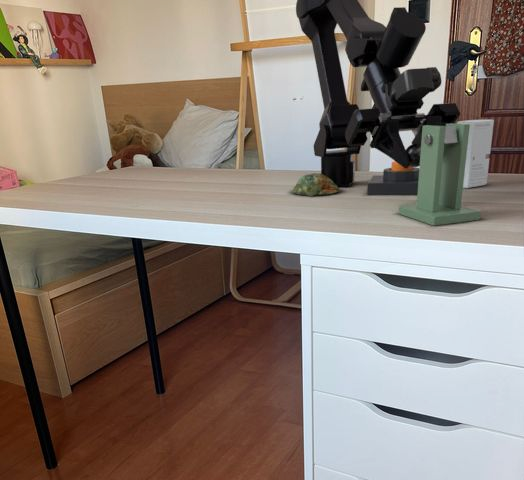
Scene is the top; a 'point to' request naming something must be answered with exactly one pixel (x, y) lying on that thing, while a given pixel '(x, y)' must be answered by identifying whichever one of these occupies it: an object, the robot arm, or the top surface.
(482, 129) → the cosmetic box
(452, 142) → the lever
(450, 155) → the bracket
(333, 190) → the green mottled dome
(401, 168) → the button
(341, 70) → the robot arm
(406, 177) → the button box
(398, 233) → the top surface
